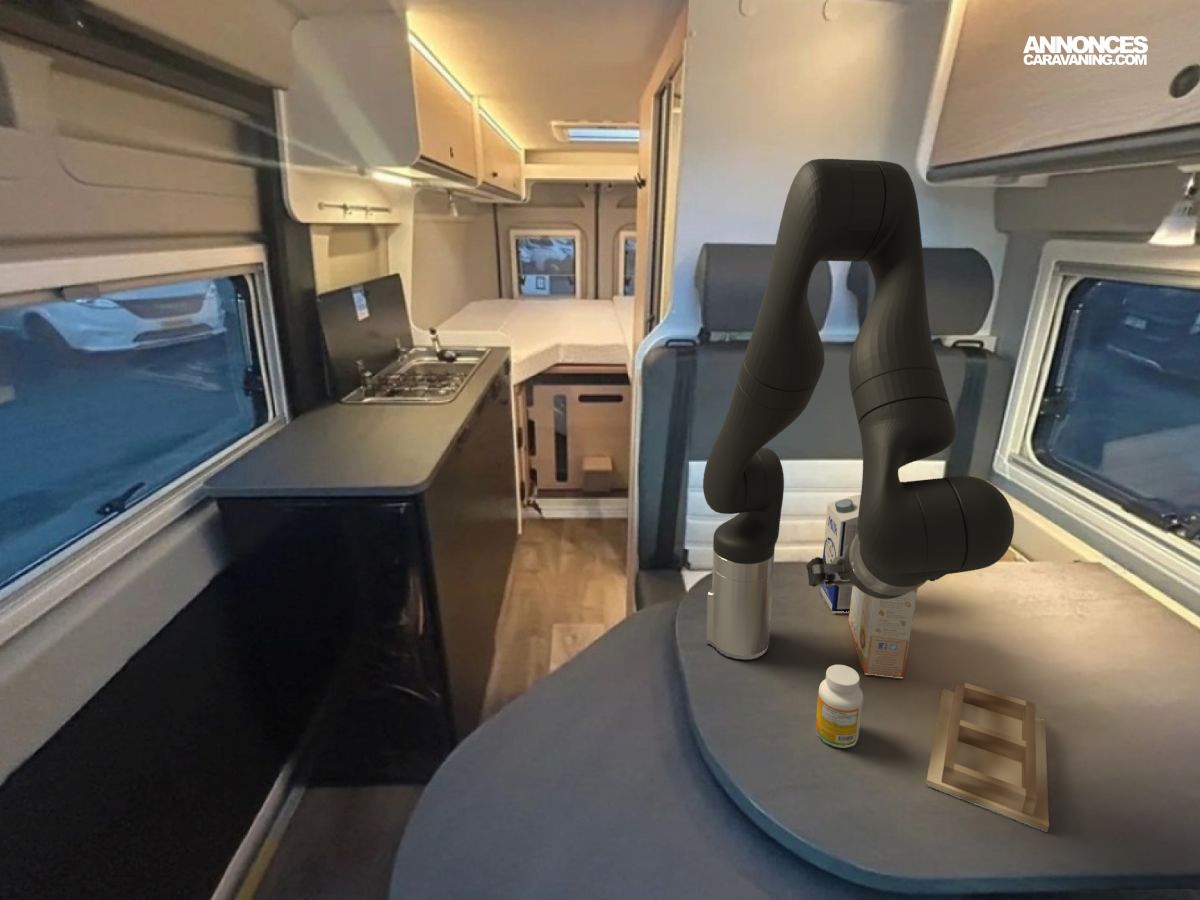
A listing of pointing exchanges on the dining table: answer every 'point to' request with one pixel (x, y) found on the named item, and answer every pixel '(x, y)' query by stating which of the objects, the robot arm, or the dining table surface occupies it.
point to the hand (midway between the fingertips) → (863, 577)
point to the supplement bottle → (839, 706)
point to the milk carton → (839, 545)
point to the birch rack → (991, 753)
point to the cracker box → (882, 631)
